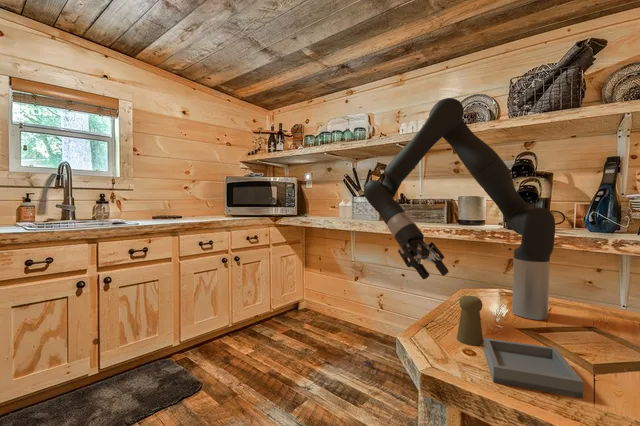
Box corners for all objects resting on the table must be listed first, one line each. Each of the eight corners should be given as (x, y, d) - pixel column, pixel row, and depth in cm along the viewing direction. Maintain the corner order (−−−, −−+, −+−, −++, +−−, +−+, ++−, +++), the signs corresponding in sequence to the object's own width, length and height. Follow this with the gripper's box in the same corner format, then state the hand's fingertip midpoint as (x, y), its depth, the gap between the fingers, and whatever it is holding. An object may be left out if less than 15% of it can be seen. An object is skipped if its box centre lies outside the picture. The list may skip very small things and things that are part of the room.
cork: (486, 346, 76) (487, 301, 76) (459, 344, 77) (460, 299, 77) (479, 336, 82) (480, 294, 81) (454, 334, 83) (455, 292, 83)
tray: (483, 350, 74) (483, 337, 74) (555, 361, 69) (556, 348, 69) (493, 382, 61) (493, 366, 61) (583, 398, 56) (583, 381, 56)
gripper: (395, 223, 90) (428, 270, 81) (427, 222, 98) (460, 265, 89) (381, 240, 95) (411, 286, 85) (413, 237, 103) (443, 280, 93)
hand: (436, 275), depth 87 cm, fingers open, 8 cm apart
